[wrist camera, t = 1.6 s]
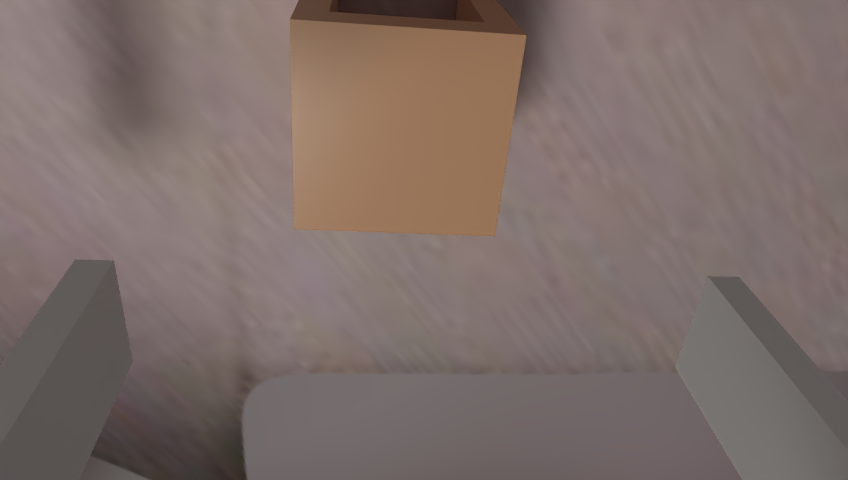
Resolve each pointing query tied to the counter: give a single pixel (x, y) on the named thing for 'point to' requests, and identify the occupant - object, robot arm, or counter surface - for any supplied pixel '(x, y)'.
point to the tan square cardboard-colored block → (402, 118)
